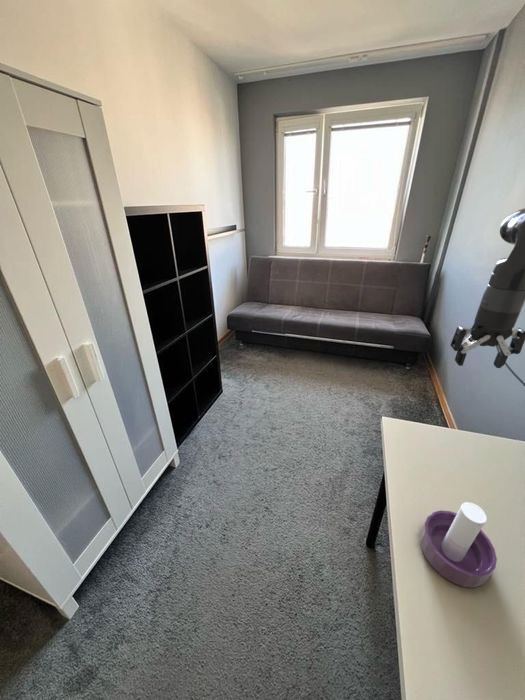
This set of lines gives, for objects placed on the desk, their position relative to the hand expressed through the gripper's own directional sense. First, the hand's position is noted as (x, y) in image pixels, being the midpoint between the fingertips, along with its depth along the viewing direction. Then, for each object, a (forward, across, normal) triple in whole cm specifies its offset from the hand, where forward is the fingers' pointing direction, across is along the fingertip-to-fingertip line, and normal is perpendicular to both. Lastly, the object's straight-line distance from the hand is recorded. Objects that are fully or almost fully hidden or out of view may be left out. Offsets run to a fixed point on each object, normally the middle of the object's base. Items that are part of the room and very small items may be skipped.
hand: (477, 365), depth 72 cm
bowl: (+33, +8, +30) cm, 45 cm away
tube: (+33, +8, +30) cm, 45 cm away
